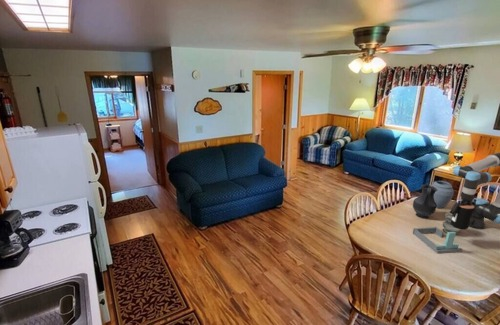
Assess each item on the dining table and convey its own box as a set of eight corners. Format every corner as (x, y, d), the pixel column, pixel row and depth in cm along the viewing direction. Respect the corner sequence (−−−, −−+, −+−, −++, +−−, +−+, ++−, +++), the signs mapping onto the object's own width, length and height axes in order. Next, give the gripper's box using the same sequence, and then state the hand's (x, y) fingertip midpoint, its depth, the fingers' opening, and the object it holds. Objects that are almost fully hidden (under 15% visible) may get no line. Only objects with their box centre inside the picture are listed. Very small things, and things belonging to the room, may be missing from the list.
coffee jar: (471, 230, 193) (477, 208, 187) (454, 229, 195) (460, 207, 189) (463, 223, 202) (469, 201, 197) (447, 221, 205) (453, 200, 199)
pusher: (456, 248, 196) (461, 231, 191) (458, 250, 194) (463, 232, 189) (435, 250, 194) (440, 232, 189) (437, 251, 192) (442, 233, 188)
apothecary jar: (439, 232, 216) (444, 212, 210) (442, 226, 224) (447, 207, 218) (458, 238, 208) (463, 218, 202) (460, 232, 216) (465, 212, 211)
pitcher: (433, 214, 243) (440, 184, 234) (433, 225, 226) (441, 192, 217) (411, 209, 252) (417, 180, 242) (410, 219, 235) (416, 188, 226)
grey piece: (435, 231, 217) (436, 227, 215) (461, 251, 193) (463, 246, 192) (412, 233, 215) (413, 228, 213) (436, 253, 191) (438, 248, 190)
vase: (430, 210, 251) (436, 186, 243) (421, 201, 269) (426, 178, 261) (453, 212, 248) (460, 187, 240) (443, 202, 266) (449, 179, 258)
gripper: (478, 189, 195) (470, 216, 202) (449, 191, 192) (442, 218, 199) (488, 194, 188) (479, 221, 195) (457, 196, 185) (450, 223, 192)
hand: (460, 220), depth 197 cm, fingers closed on coffee jar, 11 cm apart
